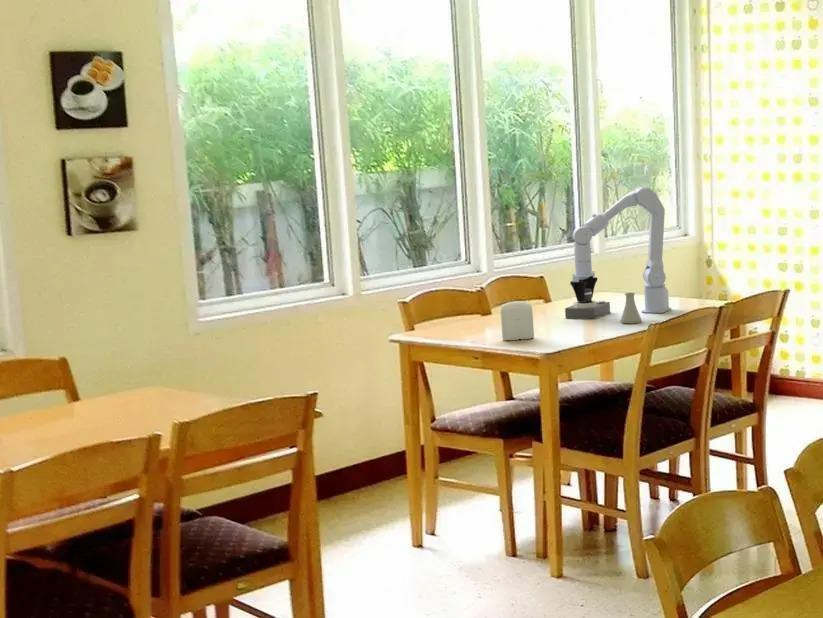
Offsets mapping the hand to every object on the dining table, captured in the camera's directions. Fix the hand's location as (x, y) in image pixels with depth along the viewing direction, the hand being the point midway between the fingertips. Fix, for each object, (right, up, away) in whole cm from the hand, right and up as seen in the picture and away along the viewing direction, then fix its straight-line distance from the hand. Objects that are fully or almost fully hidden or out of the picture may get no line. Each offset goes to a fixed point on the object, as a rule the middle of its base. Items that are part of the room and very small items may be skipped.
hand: (584, 299), depth 430 cm
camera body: (+1, -6, +2) cm, 6 cm away
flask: (+13, -8, -19) cm, 24 cm away
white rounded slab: (-27, -13, -37) cm, 48 cm away
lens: (0, -2, 0) cm, 2 cm away
